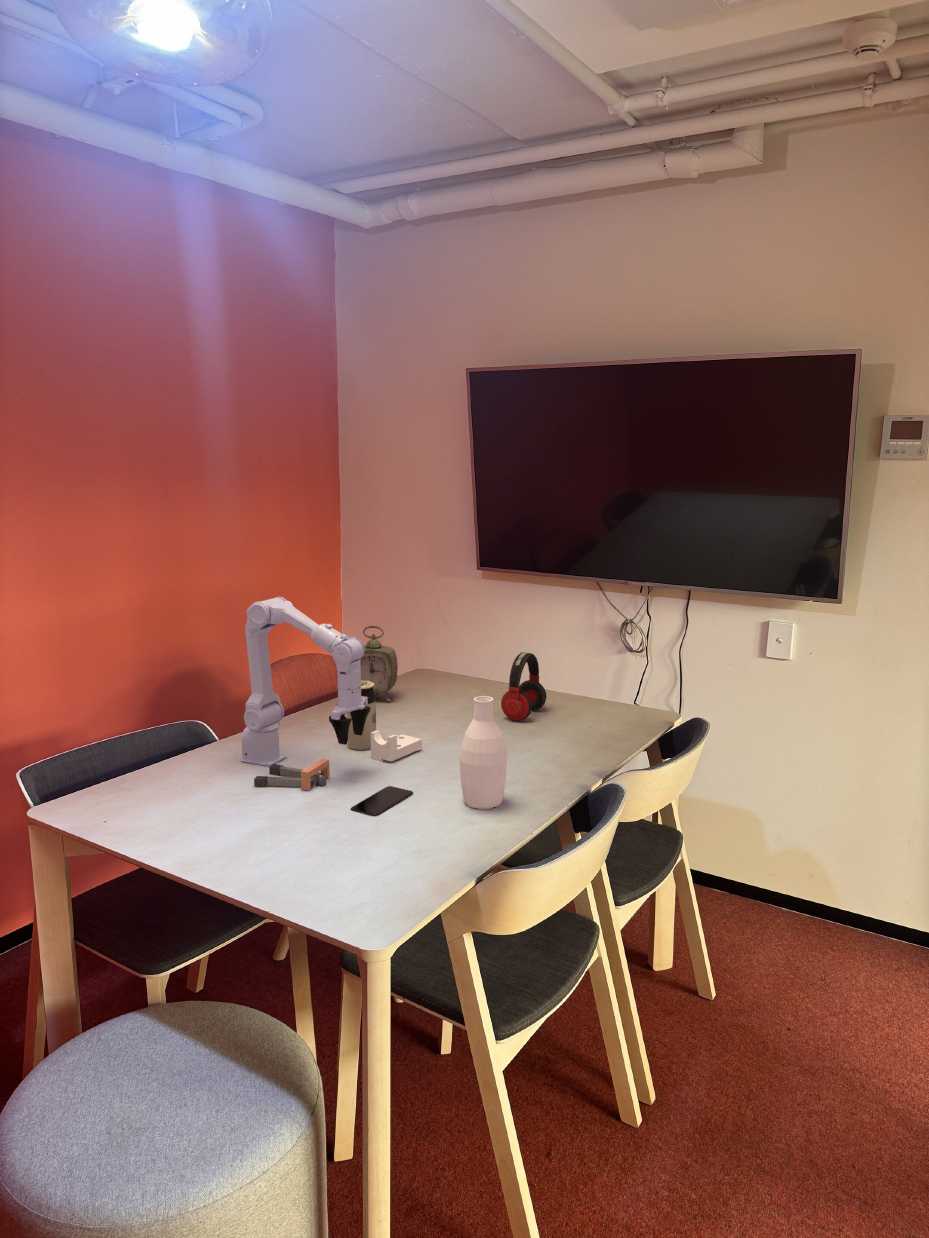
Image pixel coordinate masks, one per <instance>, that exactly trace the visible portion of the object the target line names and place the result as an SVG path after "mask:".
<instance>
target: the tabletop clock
mask: <svg viewBox="0 0 929 1238" xmlns="http://www.w3.org/2000/svg"><path fill="white" fill-rule="evenodd" d="M368 629H377V630H380V631H381V632H382V634H380V635H377V636H376V634H374V633H373V634H371V636H370V635H367V634H366V630H368ZM384 632H385V631H384V629H383V628H381V627H380V626H376V625H368V626H366V627H365V628H364V629H363V630H362V634H363V636H365V637H366V638H368V639H369V640H367V642H366V643H365V645H364V648H365V653H364V656H363V657H362V658H361V659H359V660H360V664H361V681H370V682H373V683H374V687H373V691H374V693H375V695H376V699H377V698H378V697H380V695H379V694H383V693H384V695H385V697H386V699H385V701H386V703H390V702H392V699H391V697H390V696H389V695H388V692H390V691H391V690H392V688H394V687H395V685H396V683H397V679H398V667H399V666H398V665H399V664H398V656H397V653H396V650H395V648H393V647H390V646H386V645H383V644H382V642H381V641H380V640H379V639H381V638H383V636H384V634H385V633H384ZM357 661H358V660H357Z"/></svg>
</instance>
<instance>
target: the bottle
mask: <svg viewBox="0 0 929 1238" xmlns="http://www.w3.org/2000/svg"><path fill="white" fill-rule="evenodd" d="M473 702H474V705H473V707H474V708H473V709H474V710H473V719H472V720H471V722H470V724H469V726H468V727H467V729H466V731H465V734H464V735H463V736H464V737H463V740H462V743H461V745H460V746H461V748H460V753H459V775H460V777H459V778H460V785H461V790H462V798H463V799H462V800H463V801H464V803H465V805H466V806H467V805H468V806H467V807H469V806H470V807H469V808H471V807H473V808H472V809H474V808H478V809H477V810H484V809H485V810H490V809H489V808H492V809H494V808H493V807H496V806H498V805H499V806H500V805H501V804H502V803H503V799H504V793H505V788H506V786H505V785H506V782H507V781H506V778H507V777H506V776H507V762H508V761H507V760H508V755H507V748H506V742H505V739H504V737H503V733H502V732H501V730H500V728H499V725H498V724H497V723H496V720H495V718H494V708H493V707H494V706H493V702H494V698H493V697H492V696H487V695H480V696H479V695H478V696H476V697H474V698H473ZM499 806H498V807H499ZM496 808H497V807H496Z"/></svg>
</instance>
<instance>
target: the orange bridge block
mask: <svg viewBox="0 0 929 1238" xmlns="http://www.w3.org/2000/svg"><path fill="white" fill-rule="evenodd" d="M318 772H319V773H325V774H326V779H328V778H330V776H331V775H330V772H331V771H330V759H327V758H320V759H319V760H317V761H316V762H314V763H313V764H311V765H309V766H307V767H305V769H302V771H301V787H300V788H301V790H305V791H310V790H311V789H312V787H311V782H310V777H311V776H313V775H315V774H316V773H318Z"/></svg>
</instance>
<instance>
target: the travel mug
mask: <svg viewBox="0 0 929 1238" xmlns="http://www.w3.org/2000/svg"><path fill="white" fill-rule="evenodd" d="M373 687H374V683H373V682H370V681H361V696H363V697H368V704H367V705H365V706H369V707H370V712H369V714H368V716H367V718H366V721H365V725H364V730H363V734H362V735H355V734H354V732H353V724H352V721H351V723H350V726H349V731H348V742H347V745H348V746H347V747H348V748H350V749H351V750H355V751H367V750H371V732H374V731H376V730H377V708H376V707H377V706H376V705H377V704H376V703H377V702H376V699H377V698H376V695H375V693H374V691H373ZM346 715H347V716H346V718H349V719H352V718H351V714H350V712H349V713H347V714H346Z"/></svg>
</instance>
